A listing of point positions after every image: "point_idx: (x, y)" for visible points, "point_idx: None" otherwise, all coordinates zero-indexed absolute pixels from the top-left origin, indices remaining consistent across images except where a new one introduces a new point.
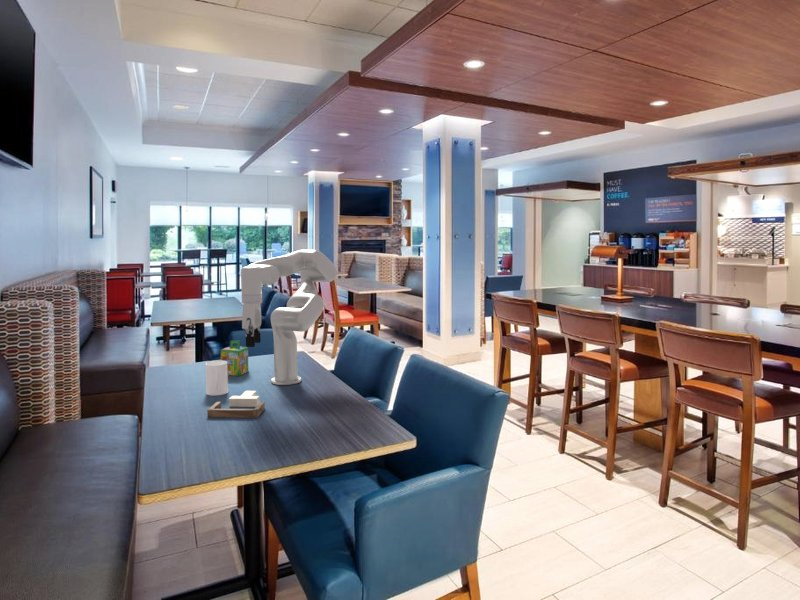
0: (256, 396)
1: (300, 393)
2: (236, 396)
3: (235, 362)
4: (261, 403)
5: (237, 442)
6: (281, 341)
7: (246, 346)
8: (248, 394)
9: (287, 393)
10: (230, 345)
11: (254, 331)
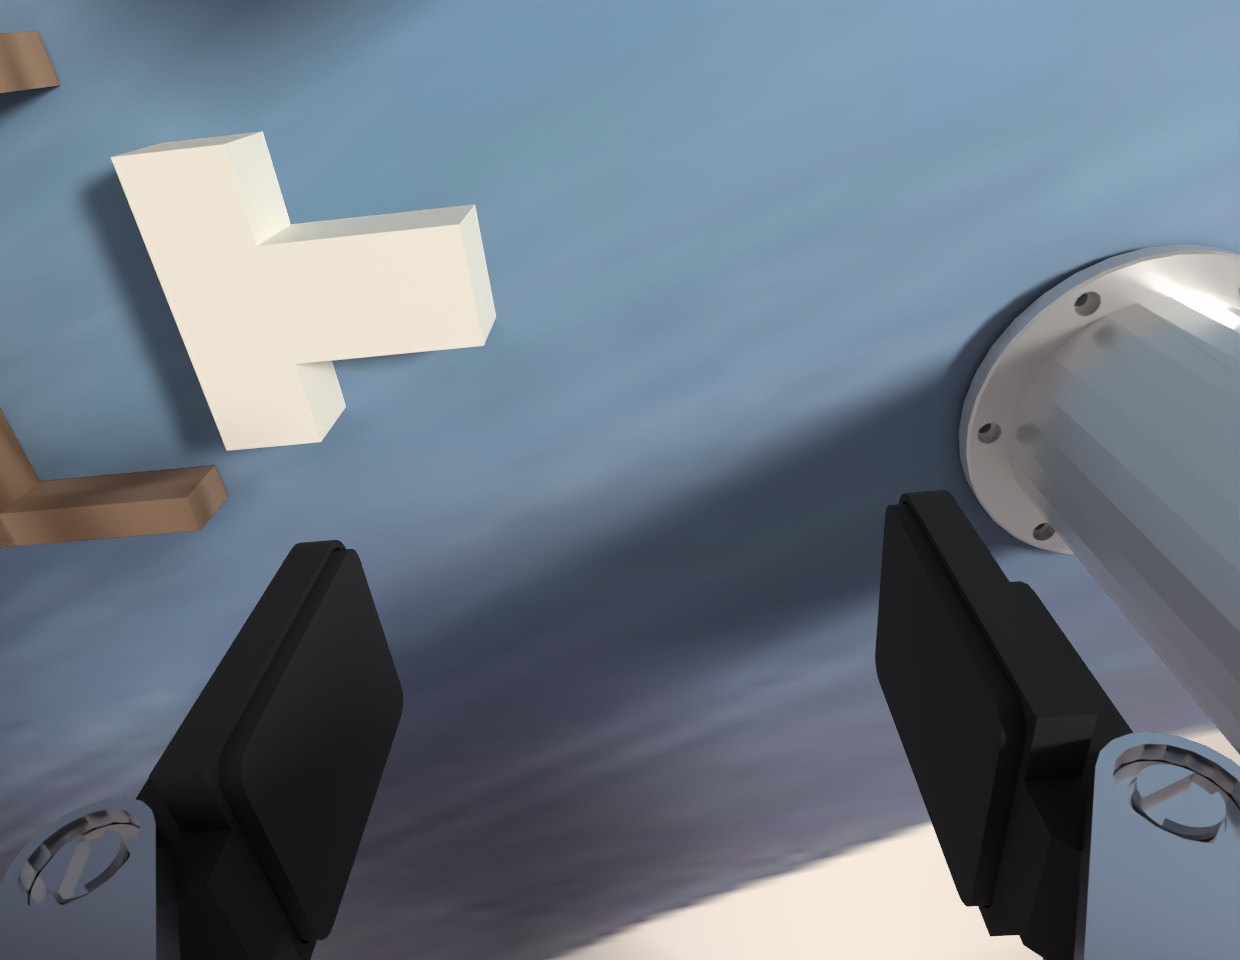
0: (292, 423)
1: (698, 626)
2: (217, 212)
3: None
4: (155, 519)
5: None
6: None
7: (304, 549)
8: (330, 316)
9: (689, 535)
10: None
11: (1048, 849)
